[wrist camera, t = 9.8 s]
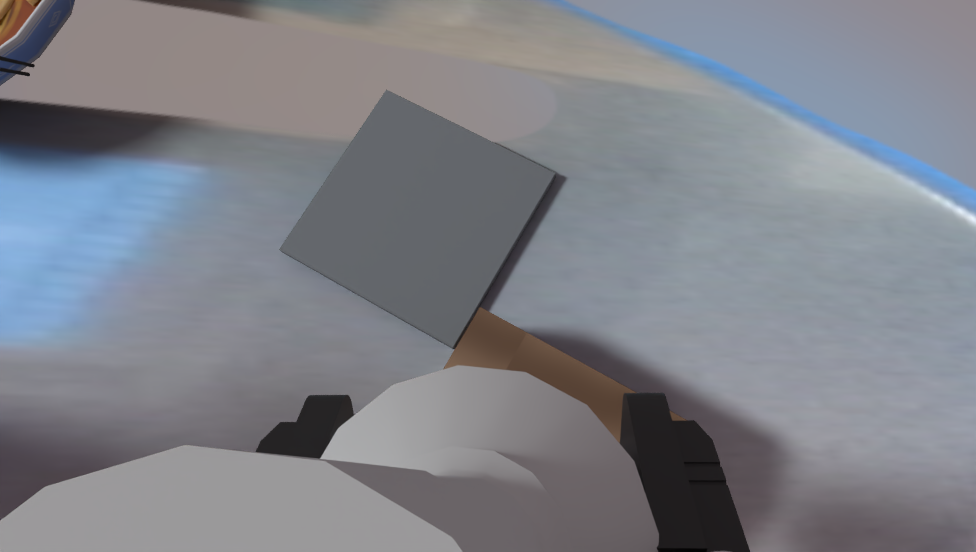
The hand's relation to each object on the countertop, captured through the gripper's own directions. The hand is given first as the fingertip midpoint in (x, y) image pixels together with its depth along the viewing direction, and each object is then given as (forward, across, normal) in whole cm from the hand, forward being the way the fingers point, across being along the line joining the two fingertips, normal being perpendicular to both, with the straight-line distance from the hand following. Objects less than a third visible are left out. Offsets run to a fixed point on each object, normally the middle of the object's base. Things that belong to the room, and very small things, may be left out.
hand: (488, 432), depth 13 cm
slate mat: (+28, -6, -8) cm, 30 cm away
